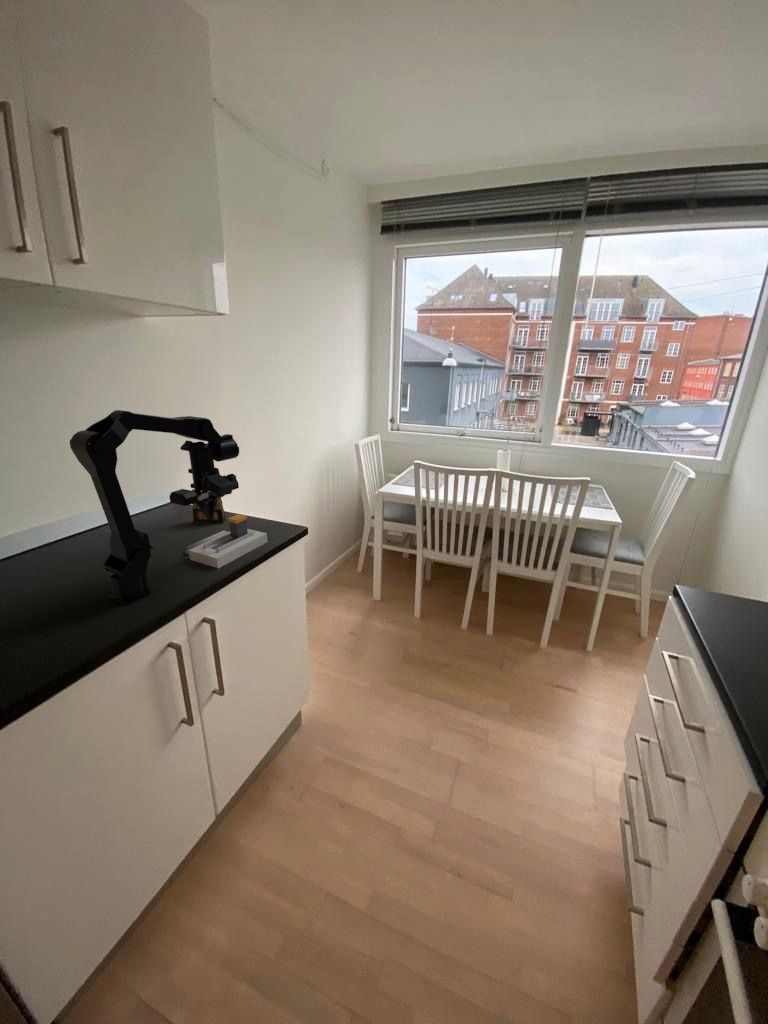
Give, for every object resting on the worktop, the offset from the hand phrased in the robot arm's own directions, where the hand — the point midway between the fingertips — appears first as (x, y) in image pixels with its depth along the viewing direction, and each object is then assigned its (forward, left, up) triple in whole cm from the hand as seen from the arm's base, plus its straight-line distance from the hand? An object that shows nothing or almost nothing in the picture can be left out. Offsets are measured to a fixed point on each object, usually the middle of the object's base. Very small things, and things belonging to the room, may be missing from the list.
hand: (210, 519), depth 117 cm
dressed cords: (+6, +9, -12) cm, 16 cm away
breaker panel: (+6, 0, -12) cm, 13 cm away
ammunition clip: (+20, +24, -12) cm, 34 cm away
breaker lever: (+10, 0, -9) cm, 13 cm away
